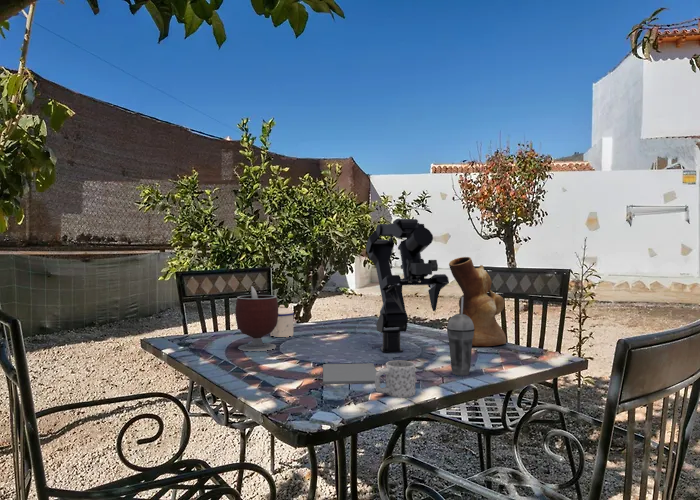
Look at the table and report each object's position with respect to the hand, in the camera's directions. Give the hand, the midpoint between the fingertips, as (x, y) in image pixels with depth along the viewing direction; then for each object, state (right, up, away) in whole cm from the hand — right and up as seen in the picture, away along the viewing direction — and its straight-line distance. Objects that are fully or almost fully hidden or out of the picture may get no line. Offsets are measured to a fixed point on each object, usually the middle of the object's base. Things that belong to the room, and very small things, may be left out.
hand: (419, 311), depth 135 cm
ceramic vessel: (+24, -15, +31) cm, 42 cm away
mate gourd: (-50, -16, +26) cm, 59 cm away
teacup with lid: (-45, -16, +47) cm, 67 cm away
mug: (-9, -15, -26) cm, 32 cm away
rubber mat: (-19, -15, -9) cm, 26 cm away
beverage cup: (+10, -15, -8) cm, 20 cm away
